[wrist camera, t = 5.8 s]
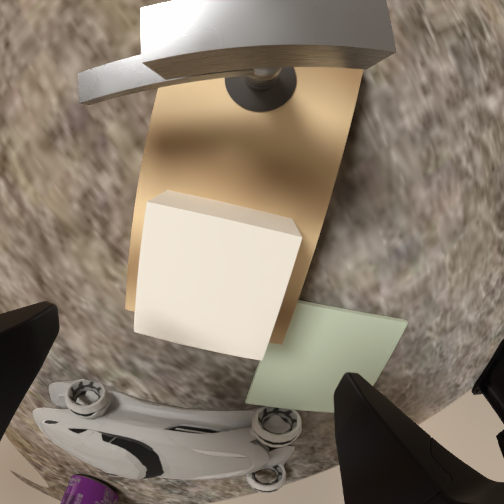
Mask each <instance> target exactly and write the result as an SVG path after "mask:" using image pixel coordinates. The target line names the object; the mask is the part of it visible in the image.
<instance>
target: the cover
mask: <svg viewBox="0 0 504 504" xmlns="http://www.w3.org/2000/svg"><path fill="white" fill-rule="evenodd" d="M301 240H302V236H301V234H300V232H299V230H298V228H297V226H296V225H295V223H294V221H293V219H291V218H287V217H283V216H279V215H275V214H271V213H267V212H263V211H259V210H255V209H250V208H246V207H242V206H238V205H233V204H229V203H225V202H220V201H216V200H211V199H207V198H202V197H198V196H193V195H188V194H184V193H179V192H174V191H169V190H166V191H165V192H163V193H161V194H159V195H158V196H156V197H154V198H152V199H151V200H149V201H147V204H146V210H145V217H144V224H143V232H142V240H141V248H140V257H139V267H138V277H137V289H136V302H135V319H134V332H137V333H141V334H144V335H148V336H152V337H156V338H159V339H163V340H167V341H171V342H175V343H179V344H183V345H187V346H192V347H196V348H200V349H205V350H209V351H214V352H219V353H224V354H229V355H234V356H239V357H244V358H249V359H255V360H260V361H262V360H263V357H264V354H265V351H266V349H267V346H268V343H269V340H270V337H271V334H272V331H273V328H274V325H275V322H276V319H277V316H278V313H279V310H280V307H281V304H282V301H283V298H284V295H285V291H286V288H287V285H288V282H289V279H290V276H291V273H292V269H293V266H294V263H295V260H296V256H297V253H298V250H299V247H300V243H301Z"/></svg>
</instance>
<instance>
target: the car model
mask: <svg viewBox="0 0 504 504" xmlns="http://www.w3.org/2000/svg"><path fill="white" fill-rule="evenodd" d="M49 393H50V397H51V400H52V402H53V403H55V404H56V405H57V406H59V407H60V408H62V409H53V408H37V409H35V410H34V411H33V417H34V419H35V421H36V423H37V425H38V427H39V428H40V429H41V431H42V432H43V433H44V434H45V435H46V436H47V437H48V438H49V439H50V440H51V441H52V442H54V443H55V444H56V445H58V446H59V447H61V448H62V449H64V450H65V451H67V452H69V453H70V454H72V455H74V456H75V457H77V458H78V459H80V460H82V461H84V462H86V463H88V464H90V465H92V466H94V467H96V468H99V469H102V471H104V472H105V473H107V474H109V475H111V476H115V477H120V476H121V477H125V478H129V479H145V478H152V477H160V478H171V479H184V480H200V479H223V478H230V477H237V476H241V475H245V474H246V480H247V482H248V483H249V485H250V486H251V487H252V488H253V489H255V490H257V491H258V492H262V493H270V492H274V491H276V490H278V489H279V488H281V487H282V486H283V485H284V483H285V481H286V471H285V468H284V465H285V463H286V461H287V460H288V459H289V458H290V457H291V455H292V454H293V453H294V449H295V446H291V445H289V444H290V443H292V442H293V441H295V440H296V439H297V438H298V436H299V435H300V433H301V431H302V419H301V417H300V415H299V414H298V412H297V411H296V410H294V409H284V408H276V407H268V406H264V407H261V408H255V409H248V410H236V411H214V410H202V409H189V408H180V407H175V406H169V405H164V404H159V403H154V402H149V401H145V400H141V399H138V398H135V397H133V396H130V395H128V394H125V393H123V392H120V391H117V390H115V389H112V388H110V387H108V386H106V385H103V384H101V383H96V382H91V381H89V380H85V379H79V380H74V381H65V382H55V383H52V384H51V385H49ZM97 394H98V395H97ZM187 430H188V431H187ZM206 433H207V434H206ZM101 434H102V435H101ZM111 439H112V440H111ZM261 469H270V470H272V471H274V472H275V473H276V474H277V479H276V480H275V481H274V482H272V483H267V484H265V483H261V482H260V481H258V480H257V479H256V478H255V473H256V472H257V471H259V470H261Z"/></svg>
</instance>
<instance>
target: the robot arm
mask: <svg viewBox="0 0 504 504" xmlns="http://www.w3.org/2000/svg"><path fill="white" fill-rule="evenodd" d="M58 332H59V317H58V308H57V306H56V305H55V304H53V303H50V302H48V301H43V302H40V303H37V304H33V305H30V306H26V307H23V308H19V309H16V310H12V311H9V312H6V313H2V314H0V441H1V439H2V436H3V435H4V433H5V431H6V429H7V427H8V425H9V423H10V421H11V419H12V417H13V416H14V414H15V412H16V410H17V408H18V407H19V405H20V403H21V401H22V399H23V398H24V396H25V394H26V393H27V391H28V389H29V387H30V386H31V384H32V382H33V381H34V379H35V377H36V376H37V374H38V372H39V371H40V369H41V367H42V365H43V363H44V361H45V359H46V357H47V355H48V353H49V351H50V349H51V347H52V345H53V343H54V341H55V339H56V337H57V335H58ZM472 393H473V394H474V395H476V394H483V395H484V396H485V398H486V399H487V401H488V402H489V403H490V405H491V406H492V408H493V409H494V410H495V412H496V413H497V414H498V416H499V418H500V419H501V421H502V422H503V424H504V340H503V341H502V343H501V345H500V346H499V348H498V350H497V352H496V353H495V355H494V357H493V358H492V360H491V361H490V363H489V365H488V366H487V368H486V369H485V371H484V372H483V374H482V376H481V377H480V379H479V380H478V382H477V383H476V384H475V386H474V387H473V389H472ZM334 418H335V438H336V445H337V452H338V458H339V465H340V471H341V479H342V486H343V494H344V501H345V504H504V482H496V481H492V480H490V479H488V478H486V477H484V476H483V475H482V474H480V473H479V472H477V471H476V470H474V469H472V468H471V467H470V466H468V465H467V464H465V463H464V462H462V461H461V460H460V459H458V458H457V457H456V456H454V455H453V454H452V453H450V452H449V451H448V450H446V449H445V448H444V447H443V446H442V445H440V444H439V443H438V442H437V441H436V440H434V439H433V438H431V437H430V435H429V434H427V433H426V432H425V431H424V430H423V429H422V428H420V427H419V426H418V425H417V424H416V423H415V422H413V421H412V420H411V419H410V418H409V417H408V416H406V415H405V414H404V413H403V412H402V411H401V410H400V409H398V408H397V407H396V406H395V405H394V404H393V403H392V402H390V401H389V400H388V399H387V398H386V397H385V396H384V395H382V394H381V393H380V392H379V391H378V390H377V389H376V388H374V387H373V386H372V385H371V384H370V383H369V382H368V381H366V380H365V379H364V378H363V377H362V376H361V375H360V374H358V373H353V372H346V373H345V374H344V375H343V377H342V378H341V380H340V382H339V384H338V386H337V388H336V389H335V392H334ZM496 437H497V440H498V444H499V447H500V449H501V452H502V455H503V457H504V430H503V431H502V432H500V433H499V434H498V435H497V436H496Z"/></svg>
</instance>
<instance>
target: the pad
mask: <svg viewBox="0 0 504 504" xmlns="http://www.w3.org/2000/svg"><path fill="white" fill-rule="evenodd" d="M407 324H408V322H407V321H406V320H405V319H399V318H393V317H387V316H381V315H376V314H370V313H364V312H359V311H353V310H348V309H343V308H337V307H332V306H327V305H322V304H316V303H311V302H306V301H301V300H298V302H297V305H296V307H295V310H294V313H293V316H292V319H291V322H290V324H289V327H288V330H287V333H286V335H285V338H284V341H283V344H282V345H280V344H274V343H268V346H267V349H266V351H265V354H264V357H263V360H262V361H260V360H259V363H258V366H257V369H256V372H255V374H254V377H253V380H252V383H251V386H250V389H249V391H248V394H247V397H246V403H248V404H254V405H261V406H268V407H276V408H284V409H294V410H304V411H316V412H330V413H334V392H335V389H336V388H337V386H338V384H339V382H340V380H341V378H342V377H343V375H344V374H345V373H346V372H353V373H358V374H360V375H361V376H362V377H363V378H364V379H365V380H366V381H368V382H369V383H370V384H371V385H372V386H373V385H374V384H375V382H376V380H377V379H378V377H379V375H380V374H381V372H382V370H383V369H384V367H385V365H386V363H387V362H388V360H389V358H390V356H391V354H392V353H393V351H394V349H395V347H396V345H397V343H398V341H399V340H400V338H401V336H402V334H403V332H404V330H405V328H406V326H407Z"/></svg>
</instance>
